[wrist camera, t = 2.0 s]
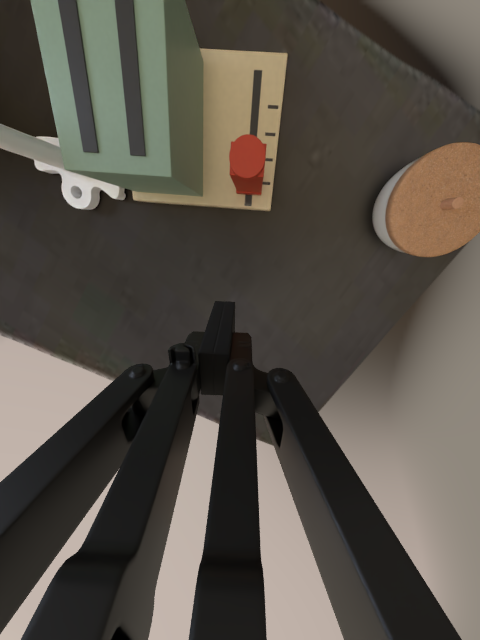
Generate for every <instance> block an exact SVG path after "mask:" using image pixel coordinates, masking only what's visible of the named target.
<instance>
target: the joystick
mask: <svg viewBox="0 0 480 640" xmlns="http://www.w3.org/2000/svg"><path fill="white" fill-rule="evenodd" d="M0 148H1V149H4V150H7V151H10V152H13V153H16V154H19V155H22V156H25V157H28V158H31V159H34V164H35V167H36V168H37V169H38V170H40V171H43V172H47V173H51V174H57V173H59V174H60V175H61V177H62V185H61V189H62V193H63V196H64V198H65V200H66V201H67V202H68V203H69V204H70V205H71V206H73V207H75V208H78V209H86V210H92V209H94V208H96V207H97V205H98V204H99V200H100V196H99V193H100V191H101V190H103V191H104V192H106V193H107V194H108V195H109V196H110V197H111V198H113V199H118V200H124V199H125V197H126V194H125V193H124V191H125V188H122V187H119V186H116V185H113V184H109V183H106V182H103V181H100V180H96V179H93V178H90V177H87V176H83V175H80V174H77V173H74V172H71V171H67V170H65V169H64V164H63V159H62V154H61V150H60V145H59V140H58V138H54V137H33V136H30V135H28V134H25V133H23V132H20V131H18V130H15V129H13V128H10V127H8V126H5V125H3V124H0Z"/></svg>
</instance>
